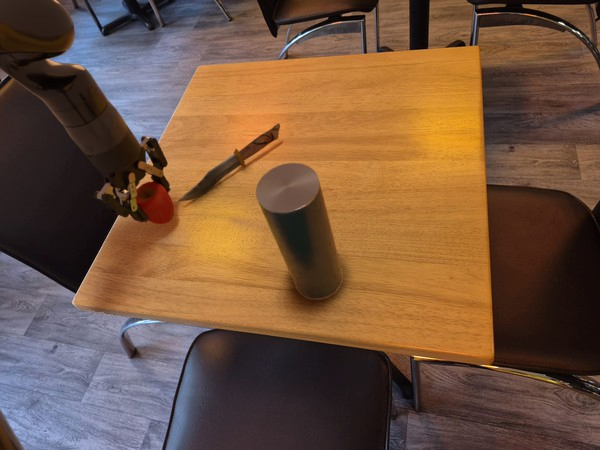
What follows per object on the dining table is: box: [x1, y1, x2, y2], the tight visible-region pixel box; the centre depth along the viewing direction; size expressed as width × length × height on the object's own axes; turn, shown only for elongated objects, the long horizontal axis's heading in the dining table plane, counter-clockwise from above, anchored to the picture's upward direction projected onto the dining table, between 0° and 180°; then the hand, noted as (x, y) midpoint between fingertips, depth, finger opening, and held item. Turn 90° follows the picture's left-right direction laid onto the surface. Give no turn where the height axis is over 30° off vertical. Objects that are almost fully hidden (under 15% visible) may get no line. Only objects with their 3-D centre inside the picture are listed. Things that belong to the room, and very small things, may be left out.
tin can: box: [255, 162, 344, 301], centre depth 60 cm, size 8×8×22 cm
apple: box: [136, 180, 175, 225], centre depth 78 cm, size 6×6×8 cm
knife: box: [175, 123, 281, 203], centre depth 84 cm, size 25×1×5 cm, turn 126°
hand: (154, 205), depth 78 cm, fingers closed on apple, 6 cm apart
